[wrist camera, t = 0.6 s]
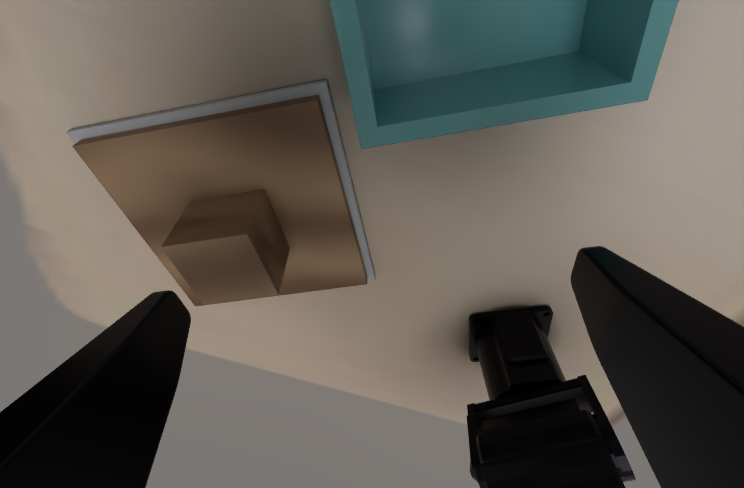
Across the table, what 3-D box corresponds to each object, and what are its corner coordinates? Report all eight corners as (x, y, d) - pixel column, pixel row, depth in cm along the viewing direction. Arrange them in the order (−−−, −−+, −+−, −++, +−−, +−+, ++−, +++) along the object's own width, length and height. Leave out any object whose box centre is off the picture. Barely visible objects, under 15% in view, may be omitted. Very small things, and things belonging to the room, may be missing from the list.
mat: (375, 275, 27) (375, 279, 27) (197, 299, 29) (196, 303, 28) (326, 79, 18) (325, 82, 18) (71, 128, 20) (66, 132, 19)
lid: (367, 275, 26) (367, 331, 23) (199, 297, 28) (173, 353, 24) (318, 94, 18) (306, 136, 14) (81, 139, 19) (15, 187, 16)
